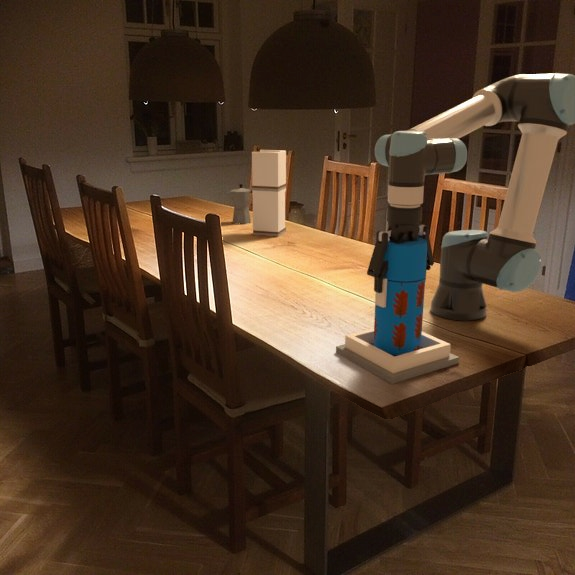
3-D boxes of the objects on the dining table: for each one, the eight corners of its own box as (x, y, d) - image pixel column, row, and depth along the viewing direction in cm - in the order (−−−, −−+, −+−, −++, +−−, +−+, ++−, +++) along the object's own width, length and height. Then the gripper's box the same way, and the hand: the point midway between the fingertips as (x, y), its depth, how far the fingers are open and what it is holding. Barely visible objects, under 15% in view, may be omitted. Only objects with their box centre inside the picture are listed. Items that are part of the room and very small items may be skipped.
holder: (399, 335, 160) (400, 319, 159) (458, 363, 144) (460, 344, 143) (335, 352, 150) (336, 334, 149) (392, 384, 134) (393, 364, 133)
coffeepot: (232, 225, 290) (231, 186, 284) (224, 221, 298) (223, 183, 292) (262, 222, 296) (262, 184, 291) (254, 219, 304) (254, 181, 299)
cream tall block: (285, 231, 277) (286, 150, 267) (278, 236, 267) (278, 152, 257) (261, 230, 280) (260, 149, 270) (253, 235, 271) (251, 152, 260)
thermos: (429, 345, 147) (437, 240, 139) (404, 359, 139) (411, 249, 131) (389, 333, 153) (395, 233, 146) (364, 346, 146) (368, 241, 138)
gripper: (430, 197, 145) (423, 288, 152) (352, 207, 133) (349, 306, 140) (455, 201, 140) (447, 296, 146) (376, 213, 127) (371, 315, 134)
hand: (399, 301), depth 143 cm, fingers closed on thermos, 11 cm apart
